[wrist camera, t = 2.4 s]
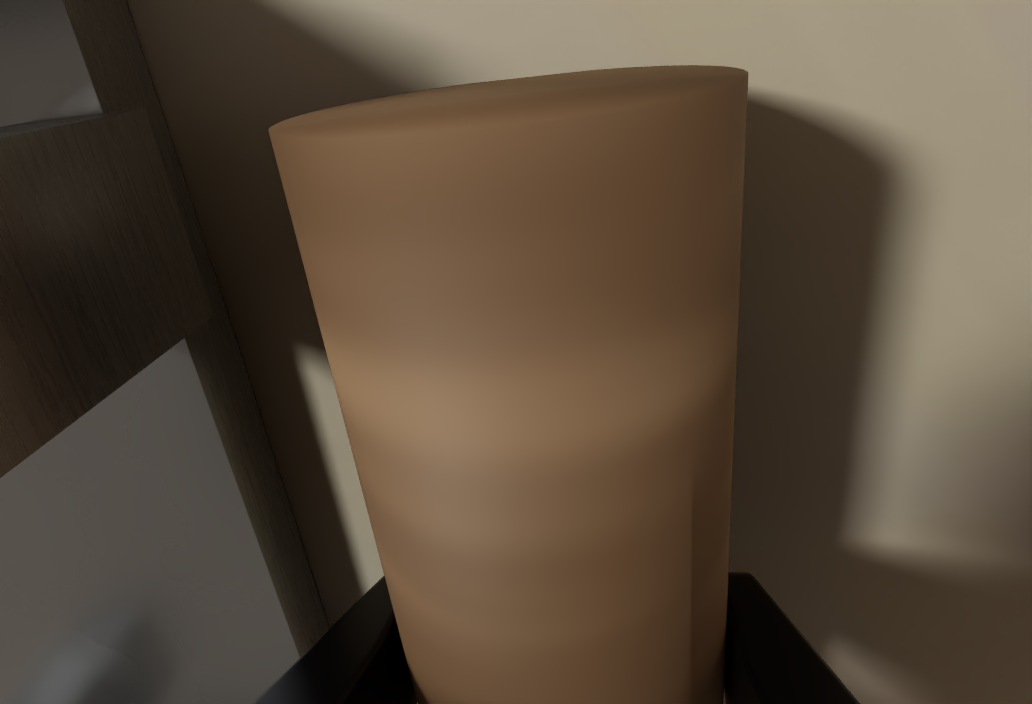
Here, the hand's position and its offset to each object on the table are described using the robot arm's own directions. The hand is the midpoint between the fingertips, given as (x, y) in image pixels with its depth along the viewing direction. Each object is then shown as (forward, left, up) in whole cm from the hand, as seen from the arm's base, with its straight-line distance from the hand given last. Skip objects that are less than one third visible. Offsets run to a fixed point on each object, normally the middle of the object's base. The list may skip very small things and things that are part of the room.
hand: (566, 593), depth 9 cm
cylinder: (0, 0, -1) cm, 1 cm away
